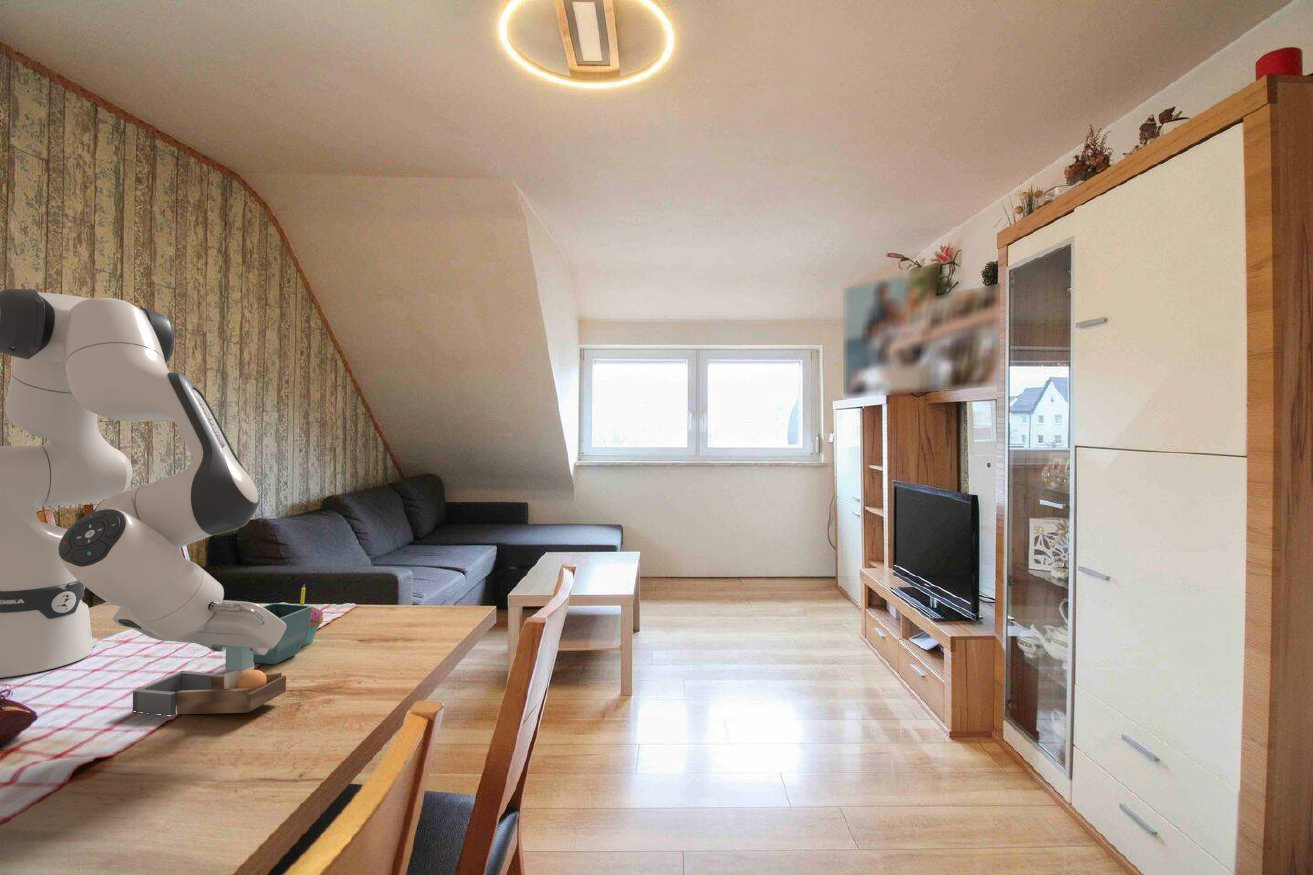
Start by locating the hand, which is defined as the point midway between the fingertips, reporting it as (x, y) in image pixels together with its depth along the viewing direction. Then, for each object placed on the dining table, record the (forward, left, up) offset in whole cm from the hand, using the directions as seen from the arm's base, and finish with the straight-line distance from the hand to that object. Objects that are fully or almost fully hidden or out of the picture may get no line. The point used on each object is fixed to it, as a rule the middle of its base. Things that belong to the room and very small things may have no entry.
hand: (243, 648), depth 88 cm
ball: (+2, -1, -5) cm, 5 cm away
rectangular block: (0, -1, -6) cm, 7 cm away
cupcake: (-12, +26, -9) cm, 30 cm away
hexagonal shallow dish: (-1, -1, -9) cm, 9 cm away
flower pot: (-10, +17, -9) cm, 22 cm away
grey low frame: (-11, -1, -9) cm, 14 cm away
